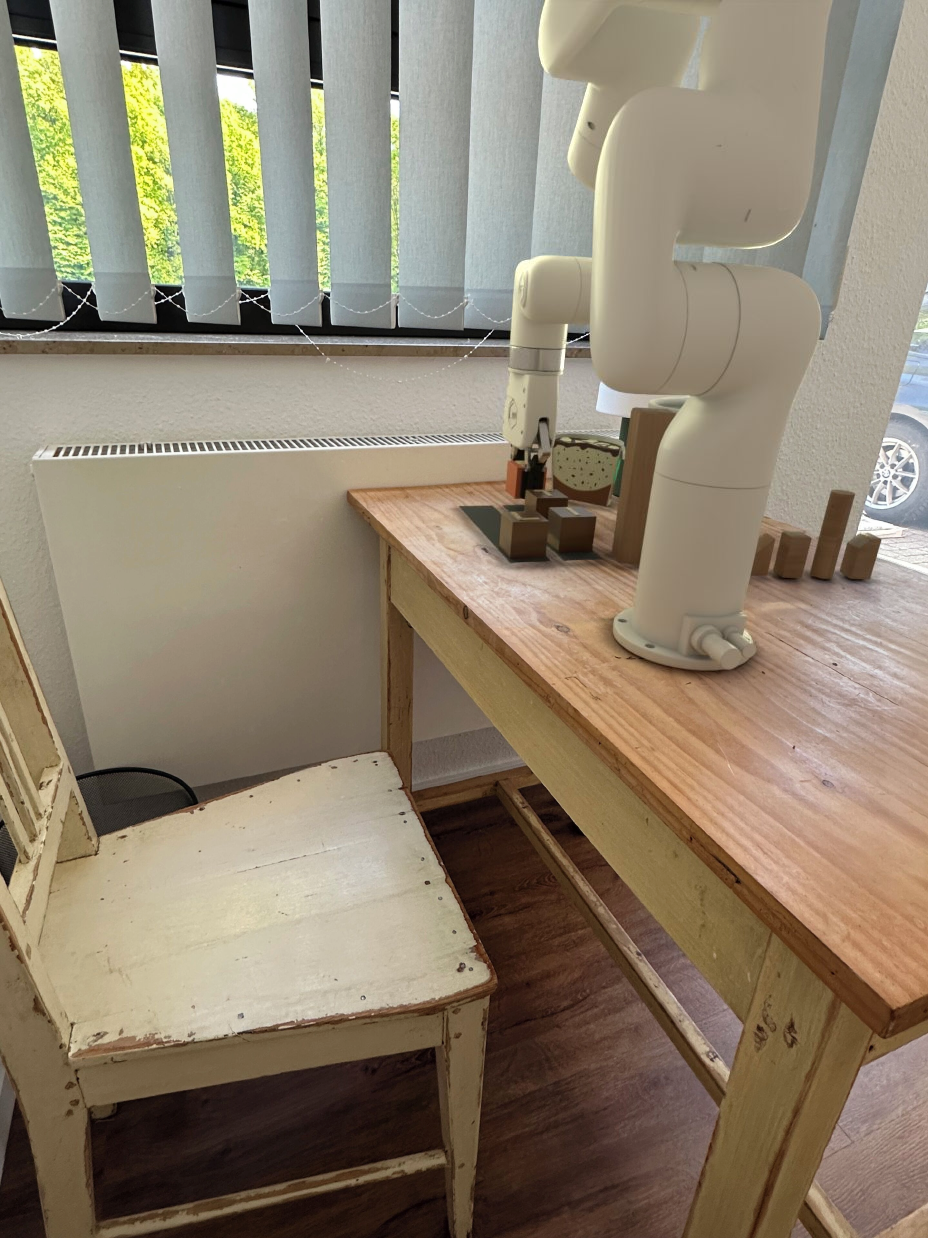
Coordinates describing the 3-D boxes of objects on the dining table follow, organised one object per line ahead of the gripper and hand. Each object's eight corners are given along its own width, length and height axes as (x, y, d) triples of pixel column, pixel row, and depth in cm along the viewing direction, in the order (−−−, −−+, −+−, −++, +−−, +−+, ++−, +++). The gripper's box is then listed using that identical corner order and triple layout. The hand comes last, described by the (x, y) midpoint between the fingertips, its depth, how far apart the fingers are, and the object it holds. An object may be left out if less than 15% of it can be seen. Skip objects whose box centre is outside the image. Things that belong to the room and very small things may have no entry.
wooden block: (682, 558, 90) (708, 410, 82) (692, 571, 86) (721, 416, 78) (610, 555, 90) (630, 406, 82) (617, 567, 86) (639, 412, 78)
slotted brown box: (592, 551, 89) (596, 515, 87) (558, 552, 88) (562, 516, 86) (578, 540, 93) (582, 505, 91) (545, 541, 92) (549, 506, 90)
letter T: (565, 530, 97) (569, 496, 95) (533, 531, 96) (536, 497, 94) (553, 520, 101) (556, 488, 99) (522, 521, 99) (525, 488, 98)
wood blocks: (857, 574, 88) (881, 490, 83) (870, 581, 85) (895, 496, 81) (659, 570, 85) (673, 484, 81) (666, 578, 83) (682, 489, 79)
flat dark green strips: (603, 563, 87) (604, 558, 86) (509, 567, 84) (510, 562, 83) (534, 508, 109) (534, 504, 108) (458, 509, 106) (458, 505, 105)
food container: (630, 504, 114) (639, 440, 110) (615, 512, 109) (625, 445, 105) (559, 491, 119) (565, 429, 115) (543, 497, 115) (549, 434, 111)
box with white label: (545, 557, 86) (549, 520, 84) (509, 559, 85) (512, 521, 83) (533, 545, 90) (536, 509, 88) (498, 546, 89) (501, 510, 87)
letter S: (544, 498, 103) (547, 466, 102) (514, 498, 102) (517, 466, 100) (533, 490, 107) (536, 459, 105) (505, 490, 106) (507, 459, 104)
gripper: (492, 355, 104) (484, 480, 111) (530, 366, 89) (518, 510, 96) (541, 356, 106) (530, 479, 113) (586, 368, 91) (570, 509, 98)
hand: (524, 492), depth 105 cm, fingers closed on letter S, 4 cm apart
